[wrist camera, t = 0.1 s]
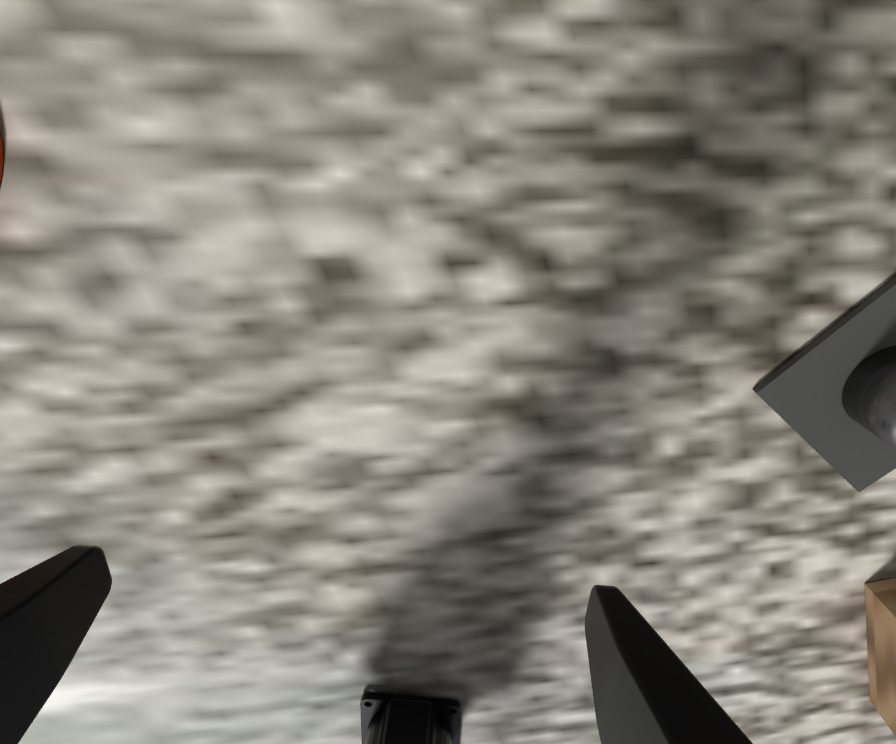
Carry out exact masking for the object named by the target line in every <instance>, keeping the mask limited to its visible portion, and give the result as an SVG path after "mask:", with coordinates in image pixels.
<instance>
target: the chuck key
mask: <svg viewBox="0 0 896 744" xmlns="http://www.w3.org/2000/svg"><path fill="white" fill-rule="evenodd" d="M842 405H843V408H844V410H845V412H846V413H847V415H848V416H849V417H850V418H851V419H853V420H854V421H855V422H857V423H858V424H860V425H861V426H863V427H864V428H865V429H867V430H868V431H870V432H871V433H873V434H874V435H875V436H877V437H878V438H880V439H881V440H883V441H884V442H886V443H887V444H888V445H890V446H891V447H893V448H894V449H896V346H891V347H888V348H884V349H882V350H879V351H877V352H875V353H873V354H872V355H870V356H868V357H867V358H865V359H864V360H863V361H862V362H860V363H859V364H858V365H857V366H856V367H855V368H854V370H853V371H852V372H851V373H850V375H849V376H848V378H847V380H846V382H845V384H844V387H843V391H842Z"/></svg>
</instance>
